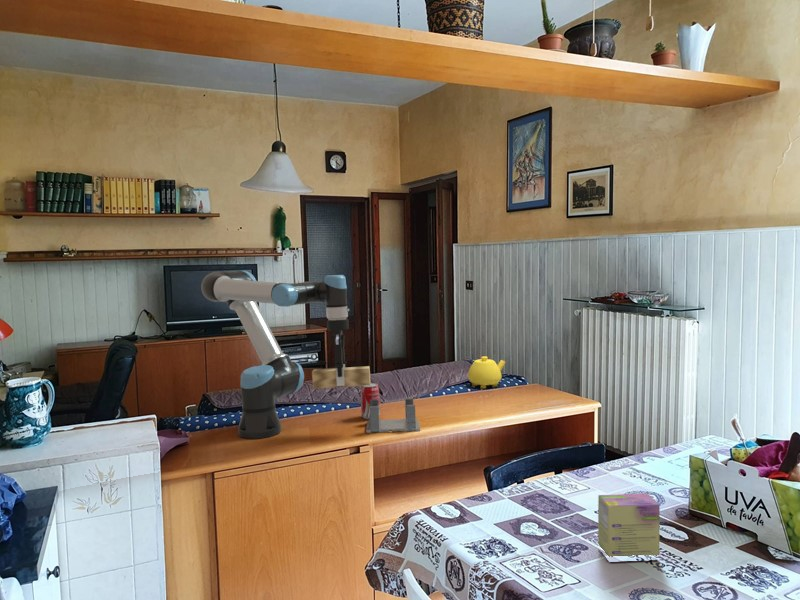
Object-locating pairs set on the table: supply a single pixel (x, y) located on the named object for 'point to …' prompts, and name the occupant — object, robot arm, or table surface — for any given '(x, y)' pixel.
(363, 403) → the soda can
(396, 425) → the bracket mount
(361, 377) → the rail
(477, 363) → the teapot
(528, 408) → the table surface
